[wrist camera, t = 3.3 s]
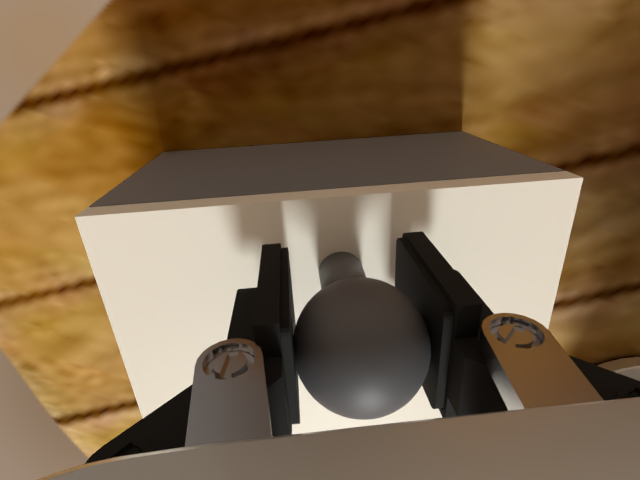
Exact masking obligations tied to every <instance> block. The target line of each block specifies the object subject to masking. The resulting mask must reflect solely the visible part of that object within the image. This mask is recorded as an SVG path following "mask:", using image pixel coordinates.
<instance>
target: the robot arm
mask: <svg viewBox="0 0 640 480" xmlns="http://www.w3.org/2000/svg"><path fill="white" fill-rule="evenodd" d="M395 287H396V288H398V289H399V290H401V291H402V292H403V293H404V294H405V295H407V296H408V297H409V298H410V299H411V300H412V301H413V303H414V304H415V305H416V306H417V308H418V309H419V311H420V312H421V314H422V316H423V318H424V320H425V323H426V325H427V328H428V331H429V336H430V342H431V359H430V365H429V370H428V373H427V376H426V378H425V380H424V382H423V384H422V386H423V389H424V391H425V394H426V396H427V398H428V401H429V403H430V405H431V407H432V408H433V409H439V411H440V413H441V415H442V418H434V419H425V420H416V421H407V422H398V423H389V424H380V425H370V426H361V427H352V428H344V429H335V430H326V431H318V432H309V433H300V434H292V424H300V406H299V384H298V373H297V370H296V367H295V359H294V346H293V336H294V330H295V327H296V323H295V312H294V302H293V292H292V281H291V271H290V261H289V251H288V247H285V248H281V243H276V244H264V245H262V251H261V259H260V267H259V275H258V284H257V287H255V288H244V289H238V290H237V293H236V298H235V302H234V307H233V312H232V317H231V322H230V326H229V331H228V336H227V340H224V341H220V342H218V343H216V344H214V345H211V346H210V347H208V348H207V349H206V350H205V351H203V352H202V353H201V355H200V356H199V357H198V359H197V361H196V364H195V369H194V377H193V384H192V385H190V386H189V387H188V388H186V389H185V390H183V391H182V392H180V393H179V394H177V395H176V396H175V397H173V398H172V399H170V400H169V401H167V402H166V403H164V404H163V405H162V406H160V407H159V408H157V409H156V410H154V411H153V412H152V413H150V414H149V415H147V416H146V417H144V418H143V419H141V420H140V421H139V422H137V423H136V424H134V425H133V426H131V427H130V428H128V429H127V430H126V431H124V432H123V433H121V434H120V435H118V436H117V437H115V438H114V439H113V440H111V441H110V442H108V443H107V444H105V445H104V446H102V447H101V448H100V449H99V450H98V451H96V452H95V453H94V454H93V455H92V456H91V457H90V458H89V459H88V460H87V462H86V463H85V464H83V465H79V466H76V467H73V468H70V469H67V470H63V471H60V472H57V473H54V474H50V475H48V476H44V477H42V478H39V479H37V480H640V357H632V358H622V359H617V360H613V361H609V362H605V363H602V364H600V365H597V366H596V365H594V364H591V363H588V362H585V361H582V360H580V359H577V358H574V357H571V356H569V355H568V354H567V353H566V352H565V350H564V349H563V348H562V347H561V345H560V344H559V343H558V341H557V340H556V339H555V338H554V336H553V335H552V334H551V333H550V331H549V330H548V329H547V328H546V327H545V326H543V325H542V324H541V323H539V322H537V321H536V320H534V319H531V318H529V317H526V316H523V315H519V314H514V313H497V314H494V313H493V312H492V311H491V310H490V308H489V307H488V306H487V305H486V304H485V302H484V301H483V300H482V299H481V298H480V296H479V295H478V294H477V293H476V292H475V290H474V289H473V288H472V287H471V286H470V284H469V283H468V282H467V281H466V280H465V278H464V277H463V276H462V275H461V274H460V272H458V271H457V270H454V269H453V268H452V267H451V265H450V264H449V263H448V262H447V261H446V259H445V258H444V257H443V256H442V254H441V253H440V252H439V251H438V250H437V248H436V247H435V246H434V245H433V243H432V242H431V241H430V240H429V239H428V237H427V236H426V235H425V234H424V232H422V231H420V232H408V233H403V235H402V238H397V240H396V261H395Z"/></svg>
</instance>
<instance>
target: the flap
mask: <svg viewBox="0 0 640 480" xmlns="http://www.w3.org/2000/svg"><path fill="white" fill-rule="evenodd" d="M582 182H583V177H581V176H578V175H575V174H573V173H570V172H568V171H559V172H546V173H533V174H520V175H507V176H494V177H481V178H467V179H454V180H441V181H428V182H415V183H402V184H389V185H376V186H363V187H350V188H337V189H323V190H310V191H297V192H284V193H271V194H258V195H245V196H232V197H219V198H206V199H193V200H179V201H166V202H153V203H140V204H127V205H114V206H101V207H88V208H86V209H85V210H83V211H82V212H81V213H79V214H78V215H77V216H75V220H76V223H77V226H78V229H79V232H80V235H81V237H82V240H83V243H84V246H85V249H86V252H87V255H88V258H89V261H90V264H91V267H92V270H93V273H94V276H95V279H96V282H97V285H98V288H99V291H100V294H101V297H102V300H103V302H104V305H105V308H106V311H107V314H108V317H109V320H110V323H111V326H112V329H113V332H114V335H115V338H116V341H117V344H118V347H119V350H120V353H121V356H122V359H123V362H124V365H125V367H126V370H127V373H128V376H129V379H130V382H131V385H132V388H133V391H134V394H135V397H136V400H137V403H138V406H139V409H140V412H141V415H142V418H144V417H146V416H147V415H149V414H150V413H152V412H153V411H154V410H156V409H157V408H159V407H160V406H162V405H163V404H164V403H166V402H167V401H169V400H170V399H172V398H173V397H175V396H176V395H177V394H179V393H180V392H182V391H183V390H185V389H186V388H188V387H189V386H190V385H192V384H193V377H194V369H195V364H196V361H197V359H198V357H199V356H200V355H201V353H202V352H203V351H205V350H206V349H207V348H208V347H210V346H211V345H214V344H216V343H218V342H220V341H224V340H227V336H228V331H229V326H230V322H231V317H232V312H233V307H234V302H235V298H236V293H237V290H238V289H244V288H255V287H257V284H258V275H259V267H260V259H261V251H262V245H264V244H276V243H281V248H285V247H288V251H289V261H290V271H291V281H292V292H293V302H294V312H295V323H296V327H295V330H294V336H293V346H294V359H295V367H296V370H297V373H298V384H299V406H300V424H292V434H300V433H309V432H318V431H326V430H335V429H344V428H352V427H361V426H370V425H380V424H389V423H398V422H407V421H416V420H425V419H434V418H442V415H441V413H440V411H439V409H433V408H432V407H431V405H430V403H429V401H428V398H427V396H426V394H425V391H424V389H423V386H422V384H423V382H424V380H425V378H426V376H427V373H428V370H429V365H430V359H431V342H430V336H429V331H428V328H427V325H426V323H425V320H424V318H423V316H422V314H421V312H420V311H419V309H418V308H417V306H416V305H415V304H414V303H413V301H412V300H411V299H410V298H409V297H408V296H407V295H405V294H404V293H403V292H402V291H401V290H399V289H398V288H396V287H395V261H396V240H397V238H402V235H403V233H408V232H420V231H422V232H424V234H425V235H426V236H427V237H428V239H429V240H430V241H431V242H432V243H433V245H434V246H435V247H436V248H437V250H438V251H439V252H440V253H441V254H442V256H443V257H444V258H445V259H446V261H447V262H448V263H449V264H450V265H451V267H452V268H453V269H454V270H457V271H458V272H460V274H461V275H462V276H463V277H464V278H465V280H466V281H467V282H468V283H469V284H470V286H471V287H472V288H473V289H474V290H475V292H476V293H477V294H478V295H479V296H480V298H481V299H482V300H483V301H484V302H485V304H486V305H487V306H488V307H489V308H490V310H491V311H492V312H493V313H494V314H497V313H514V314H519V315H523V316H526V317H529V318H531V319H534V320H536V321H537V322H539V323H541V324H542V325H543V326H545V327H546V328H547V329H548V327H549V323H550V319H551V314H552V310H553V306H554V302H555V297H556V293H557V289H558V284H559V280H560V276H561V272H562V267H563V263H564V259H565V255H566V250H567V246H568V242H569V237H570V233H571V229H572V225H573V220H574V216H575V212H576V208H577V203H578V199H579V195H580V191H581V186H582Z"/></svg>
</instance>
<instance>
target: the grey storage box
mask: <svg viewBox="0 0 640 480" xmlns="http://www.w3.org/2000/svg"><path fill="white" fill-rule="evenodd" d="M559 171H564V170H562V169H560V168H557V167H555V166H552V165H549V164H547V163H544V162H541V161H539V160H536V159H534V158H531V157H528V156H526V155H523V154H521V153H518V152H515V151H513V150H510V149H507V148H505V147H502V146H500V145H497V144H494V143H492V142H489V141H487V140H484V139H481V138H479V137H476V136H473V135H471V134H468V133H466V132H463V131H457V132H443V133H428V134H414V135H400V136H385V137H371V138H357V139H342V140H328V141H314V142H299V143H285V144H271V145H256V146H242V147H228V148H213V149H199V150H185V151H170V152H163V153H161V154H160V155H159V156H157V157H156V158H154V159H153V160H152V161H150V162H149V163H148V164H146V165H145V166H144V167H142V168H141V169H139V170H138V171H137V172H135V173H134V174H133V175H131V176H130V177H129V178H127V179H126V180H124V181H123V182H122V183H120V184H119V185H118V186H116V187H115V188H114V189H112V190H111V191H109V192H108V193H107V194H105V195H104V196H103V197H101V198H100V199H99V200H97V201H96V202H94V203H93V204H92V205H90V206H89V207H101V206H114V205H127V204H140V203H153V202H166V201H179V200H193V199H206V198H219V197H232V196H245V195H258V194H271V193H284V192H297V191H310V190H323V189H337V188H350V187H363V186H376V185H389V184H402V183H415V182H428V181H441V180H454V179H467V178H481V177H494V176H507V175H520V174H533V173H546V172H559Z"/></svg>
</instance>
